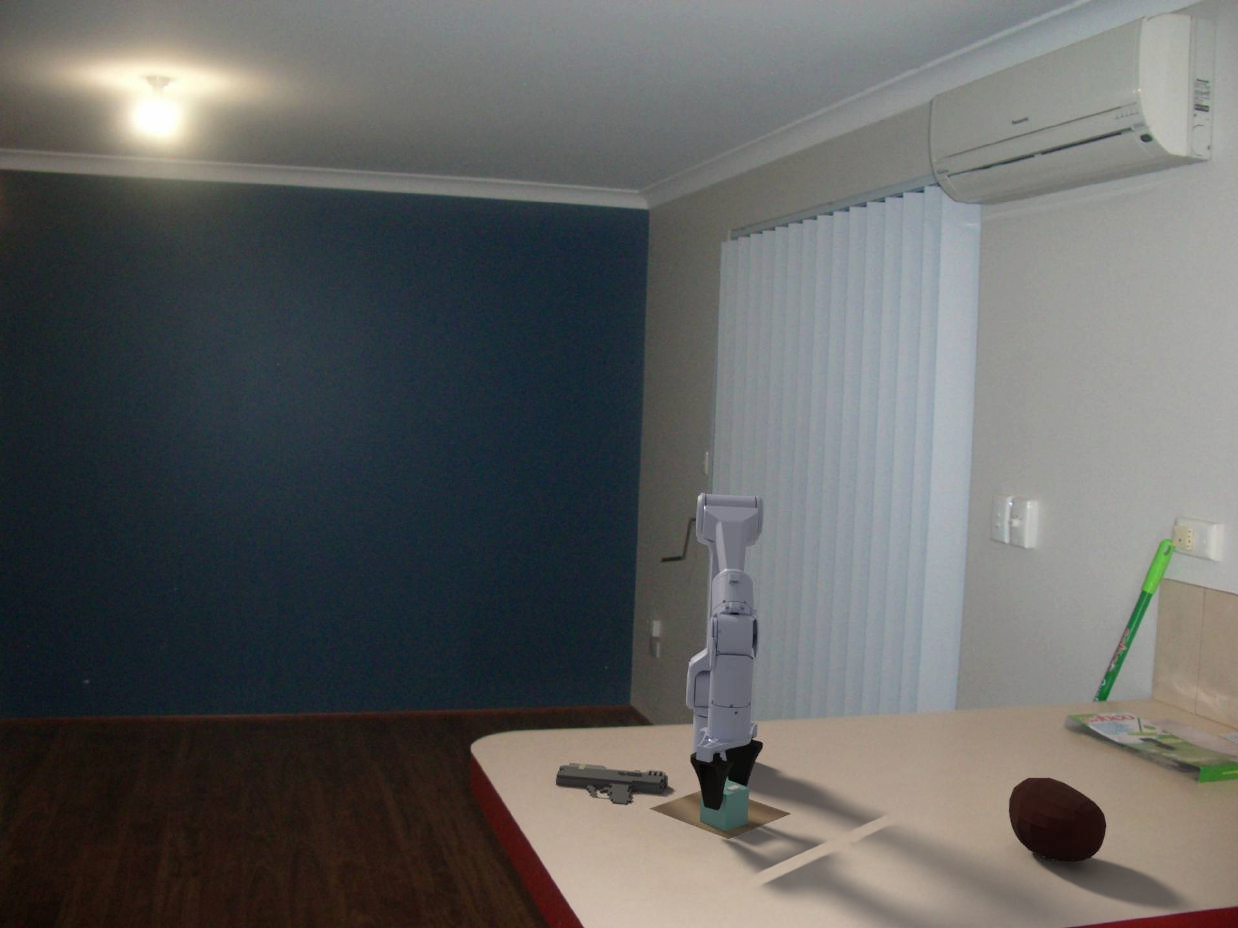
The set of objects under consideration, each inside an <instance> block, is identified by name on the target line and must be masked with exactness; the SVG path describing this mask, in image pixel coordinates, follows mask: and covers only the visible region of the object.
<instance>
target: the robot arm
mask: <svg viewBox="0 0 1238 928" xmlns="http://www.w3.org/2000/svg"><path fill="white" fill-rule="evenodd" d="M696 505H697V506H696V518H695V519H696V520H695V529H696V532H695V537H696V539H697V542H698V543H700V544H703V545H704V546H707V547H708V552H709V553H710V558H711V559H710V577H709V598H708V617H707V637H706V647H705V648H704V649H703V650H702V651H700V652H699V653H697V654H695V655H694V656H692V657H691V658H690V661H688V669H687V670H688V671H687V675H686V688H685V689H686V690H685V691H686V693H685V694H686V695H685V696H686V698H685V703H686V704H685V705H686V706H687V708H688V709H689V710H693V720H692V721H693V722H692V723H693V725H692V739H691V741H692V743H691V754H690V759H689V762H690V764H691V765H692V766H691V767H692V768H693V770H694V772H695V775H696V776H697V780H698V782H699V788H700V791H701V793H702V798H703V803H704V807H706V808H710V809H713V810H719V809H720V807H721V804H722V799H723V793H724V787H725V782H726V779H727V780H729V781H732V782H735V783H738V784H740V785H743V786H746V787H748V784H749V780H750V777H751V775H752V774H751V773H752V770H753V767H754V765H755V763H756V761H757V759H758V756H759V754H761V752H762V751H763V748H764V742H763V741H759V740H756V739H755V738H757V737H758V727H759V726H758V725H759V724H758V722H753V721H751V717H752V716H751V715H752V714H751V713H752V694H753V680H754V678H753V677H754V664H755V661H754V659H756V658H757V655H758V651H759V643H760V624H759V623H760V622H759V618H758V614H757V610H756V609H755V606H754V605H755V604H754V602H755V601H754V587H753V586H754V584H753V580H752V578H751V577H750V576H749V574H747V573H746V572H745V566H746V565H745V564H746V563H745V562H746V553H747V552H746V551H747V548H748V547H751V546H755V545H756V543H757V542H758V540H759V537H760V536H761V534H762V531H763V523H764V501H763V499H762V498H761V497H760V495H755V496H753V495H752V496H749V495H736V494H735V495H731V494H714V493H711V494H709V493H705V492H700V494H699V495H698V496H697V503H696ZM752 651H753V656H752Z"/></svg>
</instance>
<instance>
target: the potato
mask: <svg viewBox="0 0 1238 928" xmlns="http://www.w3.org/2000/svg"><path fill="white" fill-rule="evenodd" d="M1008 817H1009V821H1010V825H1011V828H1012V830H1013V833H1014V835H1015V837H1016V838H1017V839H1018V841H1019V842H1020V843H1021V844H1022V845H1023V846H1024V847H1025V848H1026V849H1027V850H1028V851H1030V852H1032V853H1034V854H1036V855H1038V856H1039V857H1043V858H1045V859H1047V860H1051V861H1052V860H1053V861H1059V862H1073V863H1074V862H1075V863H1076V862H1082V861H1083V862H1084V861H1086V860H1089V859H1091V858H1093V857H1094V856H1095V855H1096V854H1097V853H1098V852H1099V851H1100V849H1101V848H1102V846H1103V843H1104V839H1105V837H1106V832H1107V831H1106V830H1107V821H1106V816H1105V813H1104V812H1103V810H1102V809H1101V807H1100V806H1099V805H1098V804H1097V803H1096V802H1095V801H1094V800H1092V799H1091V798H1090V797H1088V796H1087V795H1085V794H1084V793H1082V792H1081V791H1079V790H1077V789H1076V788H1074V787H1072V786H1071V785H1069V784H1068V783H1065V782H1064V781H1061V780H1057V779H1055V778H1052V777H1027V778H1025V779H1024V780H1022V781H1021V782H1019V783H1018V784H1016V786H1014V787H1013V790H1012V791H1011V795H1009V800H1008Z"/></svg>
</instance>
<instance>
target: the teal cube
mask: <svg viewBox="0 0 1238 928" xmlns="http://www.w3.org/2000/svg"><path fill="white" fill-rule="evenodd" d="M749 799H750V787H748V786H747V787H746V786H743V785H740V784H738V783H735V782H732V781H729V780H728V778H727V779H726V782H725V787H724V793H723V799H722V804H721V807H720V809H719V810H713V809H710V808H706V807H704V803H703V798H702V793H701V806H700V821H701V822H703V823H706V824H708V825H711V826H713V827H715V828H718V829H720V830H723V831H728V830H731V829H733V828H736V827H739V826H742V825H745V824H747V823H748V805H749Z"/></svg>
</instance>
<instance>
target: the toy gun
mask: <svg viewBox="0 0 1238 928" xmlns="http://www.w3.org/2000/svg"><path fill="white" fill-rule="evenodd" d="M558 769H559V770H558V771H557V773H556V777H555V785H557V786H558V785H559V786H567V787H568V786H569V787H570V786H571V787H579V788H586V791H588V792H587V793H589V796H590V797H591V798H592V799H593V798H594V799H601V800H610V802H612V804H618V805H627V804H628V803H629V804H630V803H634V800H632V799H633V794H632V793H635V792H641V793H649V794H660V795H662V794H663V793H664V789H665V788H668V786H669V784H668V783H669V775H666V772H664V771H663V770H655V769H653V770H652V769H649V770H646V772H645V771H641V770H639V769H638V770H637V769H635V770H626V769H625V770H624V769H615V768H614V769H613V768H607V766H605V765H601V764H600V765H599V764H588V763H587V764H586V763H576V762H569V764H563V765H560V766H559V768H558ZM596 789H598V790H599V793H601V794H602V793H606V795H607V796H608V798H607V797H600V796H599V795H597V794H598V793H597V792H598V791H596Z"/></svg>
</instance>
